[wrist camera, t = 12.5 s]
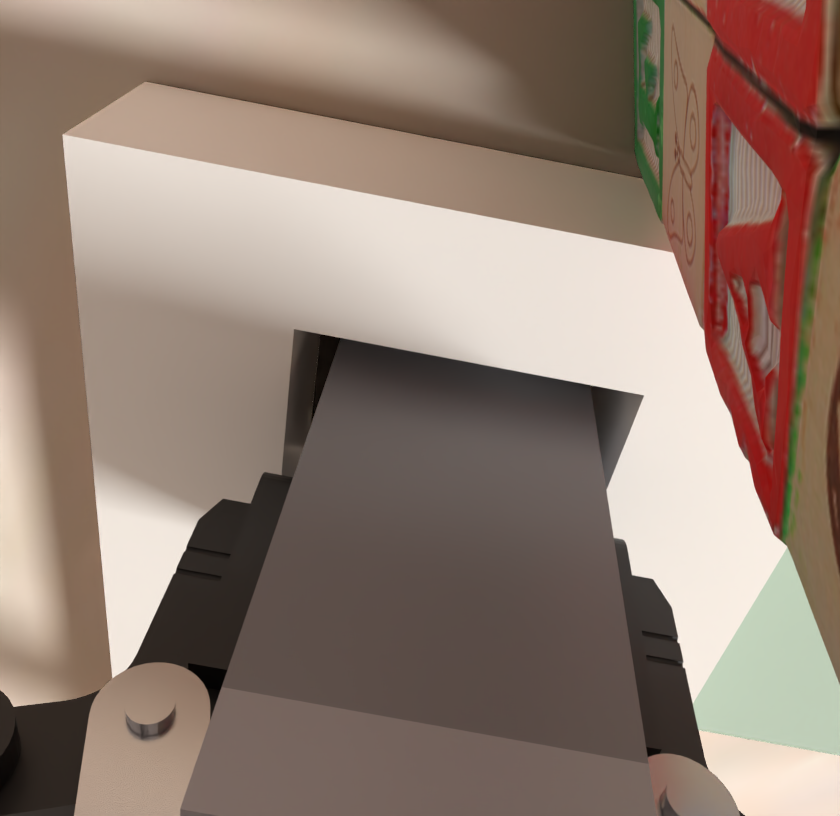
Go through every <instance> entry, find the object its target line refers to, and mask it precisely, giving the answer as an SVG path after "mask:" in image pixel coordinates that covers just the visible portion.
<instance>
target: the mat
mask: <svg viewBox="0 0 840 816" xmlns="http://www.w3.org/2000/svg"><path fill="white" fill-rule="evenodd" d="M693 707H694V712H695V717H696V721H697V726H698V730H701V731H706V732H712V733H717V734H723V735H729V736H734V737H740V738H745V739H751V740H756V741H762V742H767V743H773V744H778V745H784V746H790V747H795V748H801V749H806V750H812V751H817V752H823V753H828V754H834V755H839V756H840V684H839V682H838V679H837V676H836V674H835V671H834V668H833V666H832V663H831V661H830V658H829V655H828V653H827V650H826V647H825V645H824V642H823V639H822V637H821V634H820V631H819V629H818V626H817V624H816V621H815V618H814V616H813V613H812V610H811V608H810V605H809V602H808V600H807V597H806V594H805V591H804V589H803V586H802V583H801V581H800V578H799V575H798V573H797V570H796V567H795V564H794V562H793V559H792V557H791V554H790V552H789V550H788V547H787V549H786V550H785V552H784V554H783V555H782V557H781V559H780V560H779V562H778V564H777V565H776V567H775V569H774V570H773V572H772V574H771V575H770V577H769V579H768V580H767V582H766V583H765V585H764V587H763V588H762V590H761V592H760V593H759V595H758V597H757V598H756V600H755V602H754V603H753V605H752V607H751V608H750V610H749V612H748V613H747V615H746V617H745V618H744V620H743V622H742V623H741V625H740V626H739V628H738V630H737V631H736V633H735V635H734V636H733V638H732V640H731V641H730V643H729V645H728V646H727V648H726V650H725V651H724V653H723V655H722V656H721V658H720V660H719V661H718V663H717V664H716V666H715V668H714V669H713V671H712V673H711V674H710V676H709V678H708V679H707V681H706V683H705V684H704V686H703V688H702V689H701V691H700V693H699V694H698V696H697V698H696V699H695V701H694V703H693Z"/></svg>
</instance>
